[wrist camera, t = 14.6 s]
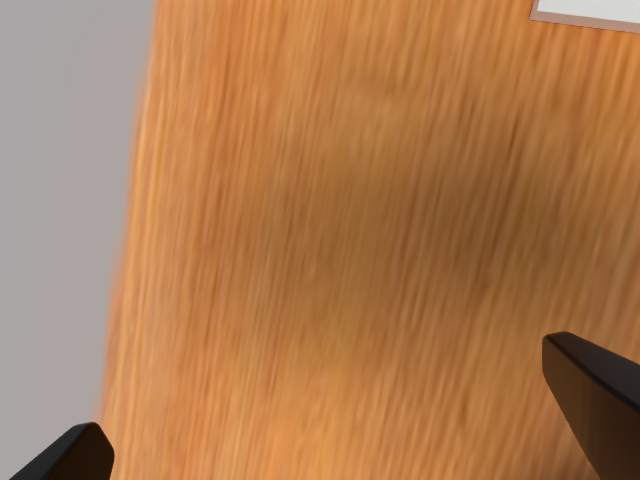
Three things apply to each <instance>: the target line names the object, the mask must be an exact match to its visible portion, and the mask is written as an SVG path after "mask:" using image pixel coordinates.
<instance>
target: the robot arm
mask: <svg viewBox="0 0 640 480" xmlns="http://www.w3.org/2000/svg"><path fill="white" fill-rule="evenodd" d="M542 368H543V374H544V377H545V379H546V382H547V384H548V386H549V387H550V389H551V391H552V393H553V395H554V397H555V399H556V401H557V403H558V404H559V406H560V408H561V410H562V412H563V414H564V416H565V418H566V420H567V421H568V423H569V425H570V427H571V429H572V431H573V433H574V435H575V437H576V438H577V440H578V442H579V444H580V446H581V448H582V450H583V451H584V453H585V455H586V457H587V458H588V460H589V462H590V463H591V465H592V466H593V468H594V470H595V471H596V473H597V474H598V476H599V477H600V479H601V480H640V365H639V364H637V363H635V362H633V361H631V360H629V359H626V358H624V357H622V356H620V355H618V354H615V353H613V352H611V351H609V350H607V349H605V348H602V347H600V346H598V345H596V344H594V343H592V342H589V341H587V340H585V339H583V338H581V337H578V336H576V335H574V334H572V333H569V332H558V333H552V334H547V335H545V336H544V337H543V341H542ZM114 457H115V455H114V449H113V447H112V445H111V444H110V442H109V440H108V439H107V437H106V435H105V434H104V432H103V430H102V429H101V427H100V426H99V425H98V424H97V423H95V422H89V423H83V424H78V425H76V426H73V427H72V428H70V429H69V430H68V431H67V432H65V433H64V434H63V435H62V436H61V437H59V438H58V439H57V440H56V441H55V442H53V443H52V444H51V445H50V446H49V447H47V449H45V450H44V451H43V452H42V453H40V454H39V455H38V456H37V457H35V458H34V459H33V460H32V461H31V462H29V463H28V464H27V465H26V466H25V467H24V468H22V469H21V470H20V471H19V472H17V473H16V474H15V475H14V476H13V477H11V478H10V479H9V480H110V476H111V472H112V468H113V464H114Z"/></svg>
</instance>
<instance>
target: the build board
mask: <svg viewBox="0 0 640 480" xmlns="http://www.w3.org/2000/svg"><path fill="white" fill-rule="evenodd" d="M529 20H536V21H544V22H552V23H560V24H568V25H576V26H584V27H592V28H600V29H608V30H616V31H624V32H632V33H639V34H640V0H534V3H533V7H532V11H531V15H530V19H529Z"/></svg>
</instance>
